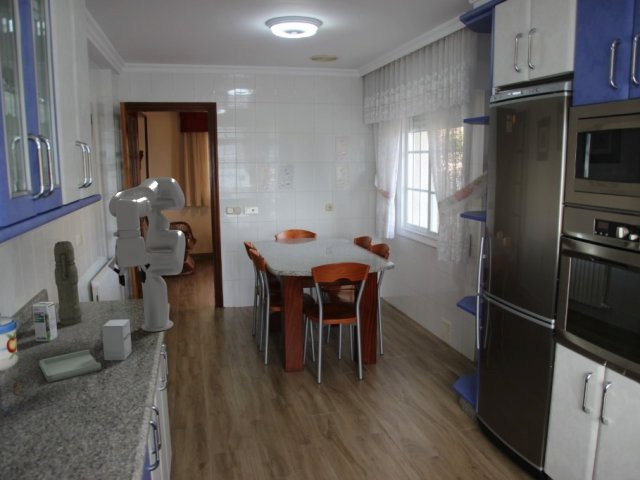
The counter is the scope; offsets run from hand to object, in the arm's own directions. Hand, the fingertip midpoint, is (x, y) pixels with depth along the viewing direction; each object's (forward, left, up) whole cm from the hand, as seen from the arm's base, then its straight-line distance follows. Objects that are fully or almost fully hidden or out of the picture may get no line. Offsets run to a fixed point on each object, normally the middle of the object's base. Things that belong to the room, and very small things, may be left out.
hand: (133, 283), depth 184 cm
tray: (0, -23, -26) cm, 34 cm away
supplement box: (0, -7, -26) cm, 27 cm away
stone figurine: (-52, -12, -26) cm, 59 cm away
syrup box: (-36, -24, -26) cm, 50 cm away
